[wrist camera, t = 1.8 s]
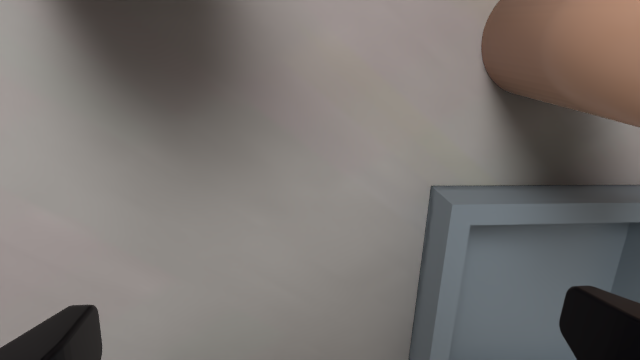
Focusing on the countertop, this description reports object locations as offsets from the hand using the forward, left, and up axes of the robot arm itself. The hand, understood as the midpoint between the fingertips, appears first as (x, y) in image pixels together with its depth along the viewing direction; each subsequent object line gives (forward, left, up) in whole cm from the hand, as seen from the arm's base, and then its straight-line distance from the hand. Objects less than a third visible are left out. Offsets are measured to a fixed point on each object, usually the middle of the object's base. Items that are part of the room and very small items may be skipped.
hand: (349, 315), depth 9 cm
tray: (+13, -8, -13) cm, 20 cm away
